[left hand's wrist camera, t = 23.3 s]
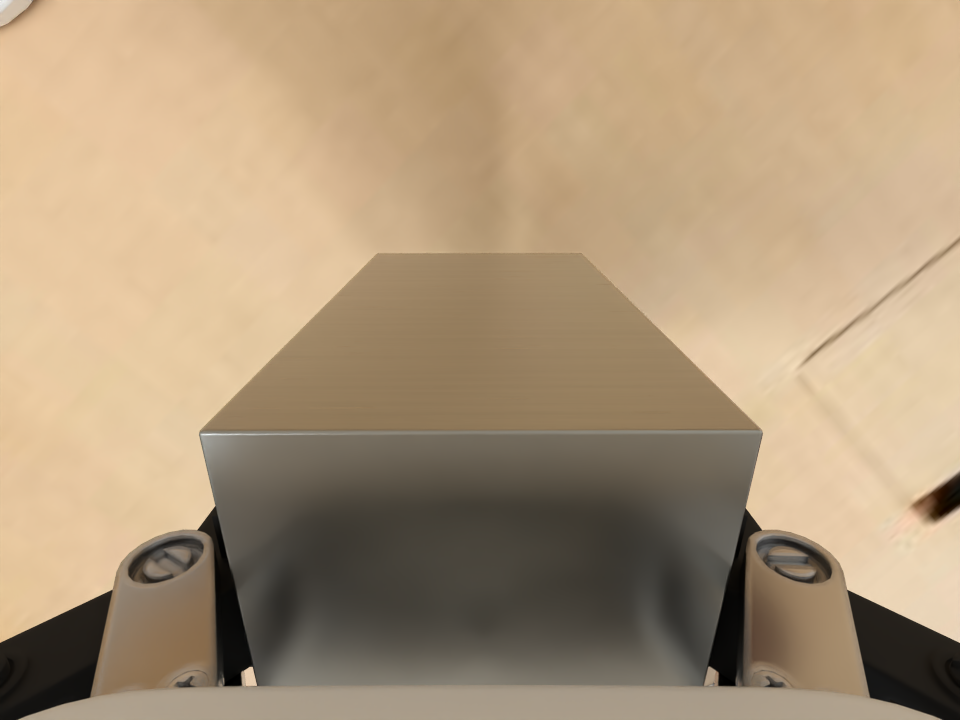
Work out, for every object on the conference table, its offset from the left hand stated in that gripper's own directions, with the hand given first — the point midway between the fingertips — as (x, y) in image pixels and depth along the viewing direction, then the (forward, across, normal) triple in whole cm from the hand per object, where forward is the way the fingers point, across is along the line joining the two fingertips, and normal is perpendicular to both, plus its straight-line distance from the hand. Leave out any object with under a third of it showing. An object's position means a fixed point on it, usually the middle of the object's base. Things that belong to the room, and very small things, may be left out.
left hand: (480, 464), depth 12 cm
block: (+7, 0, 0) cm, 7 cm away
